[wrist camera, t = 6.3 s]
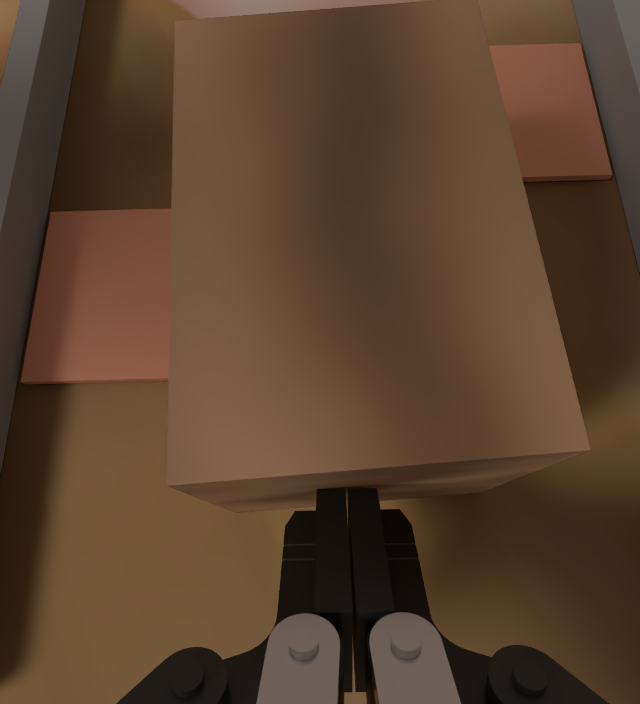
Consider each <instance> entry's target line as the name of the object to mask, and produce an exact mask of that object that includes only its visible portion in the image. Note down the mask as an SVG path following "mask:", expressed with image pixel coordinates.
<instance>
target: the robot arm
mask: <svg viewBox="0 0 640 704" xmlns="http://www.w3.org/2000/svg"><path fill="white" fill-rule="evenodd" d="M352 634H353V653H354V671H355V689H356V692H366V697H367V704H609V703H607V702H606V701H605V700H604V699H602V698H601V697H600V696H599V695H597V694H596V693H595V692H593V691H592V690H591V689H590V688H588V687H587V686H586V685H585V684H583V683H582V682H581V681H580V680H578V679H577V678H576V677H574V676H573V675H572V674H571V673H569V672H568V671H567V670H566V669H564V668H563V667H562V666H561V665H559V664H558V663H557V662H555V661H554V660H553V659H552V658H550V657H549V656H547V655H546V654H545V653H543V652H541V651H539V650H537V649H534V648H532V647H528V646H522V645H511V646H507V647H504V648H502V649H500V650H499V651H497V652H496V653H495V654H494V655H493V656H492V657H489V656H486V655H482V654H479V653H475V652H472V651H469V650H466V649H463V648H461V647H459V646H457V645H455V644H453V643H452V642H450V641H449V640H448V639H446V638H445V637H444V636H443V635H442V634H441V633H440V632H439V631H438V629H437V628H436V626H435V625H434V623H433V621H432V618H431V615H430V611H429V606H428V601H427V596H426V592H425V587H424V582H423V577H422V573H421V568H420V563H419V560H418V553H417V549H416V545H415V539H414V534H413V529H412V525H411V523H410V522H409V521H408V519H407V518H406V517H405V516H404V514H403V513H402V512H401V510H400V509H386V510H380V504H379V496H378V490H377V488H350V489H348V524H347V507H346V490H345V489H317V490H316V511H295V512H294V514H293V515H292V517H291V518H290V520H289V521H288V523H287V524H286V526H285V535H284V547H283V557H282V568H281V579H280V590H279V602H278V613H277V620H276V623H275V626H274V628H273V630H272V632H271V633H270V635H269V636H268V637H267V638H266V639H265V640H264V641H263V642H262V643H261V644H260V645H258V646H257V647H255V648H254V649H252V650H250V651H247V652H245V653H242V654H239V655H236V656H233V657H230V658H227V659H224V660H222V658H221V657H220V656H219V655H218V654H217V653H215V652H214V651H212V650H210V649H207V648H202V647H192V648H186V649H183V650H180V651H178V652H176V653H174V654H172V655H171V656H169V657H168V658H167V659H165V660H164V661H163V662H162V663H161V664H160V665H159V666H157V667H156V668H155V669H154V670H153V671H152V672H151V673H150V674H149V675H148V676H146V677H145V678H144V679H143V680H142V681H141V682H140V683H139V684H138V685H136V686H135V687H134V688H133V689H132V690H131V691H130V692H129V693H128V694H126V695H125V696H124V697H123V698H122V699H121V700H120V701H119V702H118V703H117V704H344V692H352Z"/></svg>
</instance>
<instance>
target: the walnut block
mask: <svg viewBox="0 0 640 704" xmlns="http://www.w3.org/2000/svg"><path fill="white" fill-rule="evenodd" d="M590 450H591V449H590V445H589V441H588V437H587V433H586V429H585V425H584V421H583V417H582V413H581V409H580V405H579V401H578V397H577V393H576V389H575V385H574V381H573V377H572V374H571V370H570V366H569V362H568V358H567V354H566V350H565V346H564V342H563V338H562V334H561V330H560V326H559V322H558V318H557V314H556V310H555V306H554V302H553V298H552V294H551V290H550V286H549V282H548V278H547V274H546V270H545V266H544V262H543V259H542V255H541V251H540V247H539V243H538V239H537V235H536V231H535V227H534V223H533V219H532V215H531V211H530V207H529V203H528V199H527V195H526V191H525V187H524V183H523V179H522V175H521V171H520V167H519V163H518V159H517V155H516V151H515V147H514V143H513V140H512V136H511V132H510V128H509V124H508V120H507V116H506V112H505V108H504V104H503V100H502V96H501V92H500V88H499V84H498V80H497V76H496V72H495V68H494V64H493V60H492V56H491V52H490V48H489V44H488V40H487V36H486V32H485V28H484V24H483V21H482V17H481V13H480V9H479V5H478V1H477V0H436V1H423V2H410V3H399V4H398V3H397V4H385V5H372V6H360V7H346V8H333V9H320V10H308V11H295V12H282V13H269V14H257V15H243V16H230V17H217V18H205V19H191V20H178V21H175V27H174V84H173V141H172V198H171V255H170V312H169V369H168V426H167V483H166V486H168V487H171V488H173V489H176V490H179V491H181V492H184V493H186V494H189V495H192V496H194V497H197V498H199V499H202V500H205V501H207V502H210V503H212V504H215V505H217V506H220V507H223V508H225V509H228V510H230V511H233V512H236V513H243V512H255V511H267V510H278V509H290V508H302V507H314V506H316V490H317V489H345V490H346V504H348V489H350V488H377V490H378V496H379V501H385V500H397V499H409V498H421V497H432V496H444V495H456V494H468V493H480V492H484V491H486V490H489V489H491V488H494V487H497V486H499V485H502V484H504V483H507V482H509V481H512V480H515V479H517V478H520V477H522V476H525V475H528V474H530V473H533V472H535V471H538V470H541V469H543V468H546V467H548V466H551V465H554V464H556V463H559V462H561V461H564V460H567V459H569V458H572V457H574V456H577V455H580V454H582V453H585V452H587V451H590Z"/></svg>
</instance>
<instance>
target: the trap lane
mask: <svg viewBox="0 0 640 704" xmlns="http://www.w3.org/2000/svg"><path fill="white" fill-rule="evenodd" d="M572 2H573V6H574V10H575V14H576V18H577V22H578V26H579V30H580V34H581V38H582V42H583V46H584V50H585V54H586V58H587V63H588V67H589V71H590V75H591V79H592V83H593V87H594V91H595V95H596V99H597V103H598V107H599V111H600V115H601V119H602V123H603V127H604V131H605V135H606V139H607V143H608V147H609V151H610V155H611V159H612V163H613V167H614V171H615V175H616V179H617V183H618V187H619V191H620V196H621V200H622V204H623V208H624V212H625V216H626V220H627V224H628V228H629V232H630V236H631V240H632V244H633V248H634V252H635V256H636V260H637V264H638V268H639V272H640V0H572ZM85 3H86V0H21V2H20V6H19V11H18V15H17V19H16V23H15V27H14V32H13V36H12V40H11V44H10V48H9V53H8V57H7V61H6V65H5V69H4V74H3V78H2V82H1V86H0V474H1V469H2V463H3V458H4V452H5V447H6V441H7V435H8V430H9V424H10V419H11V413H12V408H13V402H14V397H15V391H16V386H17V380H18V375H19V369H20V363H21V358H22V352H23V347H24V341H25V336H26V330H27V325H28V319H29V314H30V308H31V303H32V297H33V291H34V286H35V280H36V275H37V269H38V264H39V258H40V253H41V247H42V242H43V236H44V231H45V225H46V219H47V214H48V208H49V203H50V197H51V192H52V186H53V181H54V175H55V170H56V164H57V159H58V153H59V147H60V142H61V136H62V131H63V125H64V120H65V114H66V109H67V103H68V98H69V92H70V87H71V81H72V75H73V70H74V64H75V59H76V53H77V48H78V42H79V37H80V31H81V26H82V20H83V15H84V9H85ZM489 48H490V52H491V56H492V60H493V64H494V68H495V72H496V76H497V80H498V84H499V88H500V92H501V96H502V100H503V104H504V108H505V112H506V116H507V120H508V124H509V128H510V132H511V136H512V140H513V143H514V147H515V151H516V155H517V159H518V163H519V167H520V171H521V175H522V179H523V182H537V181H573V180H608V179H610V177H611V176H612V175H613V174H612V170H611V166H610V162H609V158H608V154H607V150H606V146H605V142H604V138H603V134H602V130H601V126H600V121H599V117H598V113H597V109H596V105H595V101H594V97H593V93H592V89H591V85H590V81H589V77H588V73H587V69H586V65H585V60H584V56H583V52H582V48H581V44H580V43H559V44H528V45H496V46H489ZM170 255H171V208H166V209H131V210H95V211H59V212H51V214H50V219H49V225H48V231H47V236H46V242H45V247H44V253H43V259H42V264H41V270H40V275H39V281H38V287H37V292H36V298H35V303H34V309H33V315H32V320H31V326H30V331H29V337H28V343H27V348H26V354H25V360H24V365H23V371H22V376H21V382H22V383H23V384H61V383H103V382H145V381H168V369H169V312H170Z"/></svg>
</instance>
